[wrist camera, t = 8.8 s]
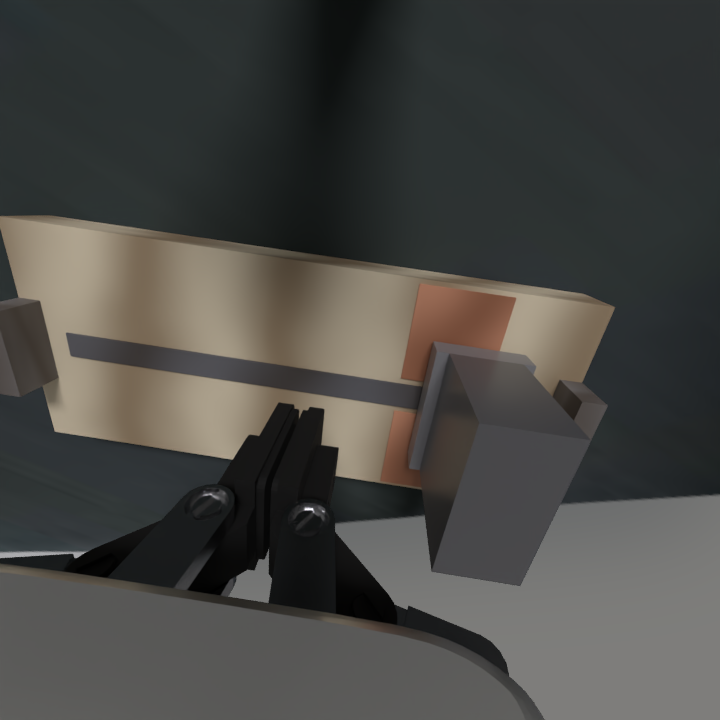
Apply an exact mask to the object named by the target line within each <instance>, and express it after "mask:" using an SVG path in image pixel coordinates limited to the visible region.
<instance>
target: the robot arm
mask: <svg viewBox="0 0 720 720" xmlns="http://www.w3.org/2000/svg"><path fill="white" fill-rule="evenodd" d="M324 412H325V411H324V409H322V408H315V407H309V409H308V410H303V411H302V413H301V416H300V418H299V409H295V407H294V404H288V403H281V402H279V403H278V404H277V406H276V407H275V409H274V411H273V413H272V414H271V416H270V418H269V420H268V421H267V423H266V425H265V427H264V428H263V430H262V432H261V434H260V435H259V436H258V435H251V434H250V435H248V436H247V438H246V439H245V441H244V442H243V444H242V446H241V447H240V449H239V450H238V452H237V454H236V455H235V457H234V458H233V460H232V462H231V463H230V465H229V466H228V468H227V470H226V471H225V473H224V474H223V476H222V478H221V479H220V481H219V482H218V484H210V485H204V486H200V487H197V488H195V489H193V490H192V491H190V492H189V493H187V494H186V495H185V496H184V497H183V498H182V499H181V500H180V501H179V502H178V503H177V504H176V505H175V506H174V507H173V508H172V509H171V511H170V512H169V513H168V514H167V515H166V516H165V517H164V518H163V519H162V520H161V521H158V522H156V523H154V524H151V525H149V526H146V527H144V528H142V529H139V530H137V531H135V532H132V533H130V534H127V535H125V536H123V537H120V538H118V539H116V540H113V541H111V542H108V543H106V544H104V545H101V546H99V547H97V548H94V549H92V550H90V551H88V552H86V553H84V554H83V555H81V556H80V557H78V558H74V555H73V554H61V555H45V556H30V557H14V558H0V720H544V718H543V716H542V715H541V713H540V711H539V710H538V708H537V707H536V705H535V704H534V702H533V701H532V699H531V698H530V697H529V696H528V695H527V693H526V692H525V691H524V690H523V689H522V688H521V687H520V686H519V685H518V684H517V683H516V682H515V681H514V680H513V679H512V678H510V677H509V673H508V669H507V664H506V662H505V660H504V658H503V656H502V654H501V652H500V651H499V650H498V649H497V648H496V647H495V646H494V644H493V643H492V642H491V641H489V640H487V639H486V638H484V637H483V636H481V635H479V634H476V633H474V632H471V631H469V630H466V629H464V628H462V627H459V626H457V625H454V624H452V623H449V622H447V621H445V620H442V619H440V618H437V617H434V616H432V615H430V614H427V613H425V612H422V611H420V610H418V609H415V608H413V607H410V606H408V609H407V610H406V609H404V608H401V607H399V606H397V605H394V602H393V601H392V600H391V598H390V596H389V595H388V593H387V592H386V591H385V590H384V589H383V588H382V587H381V585H380V584H379V583H378V582H377V581H376V580H375V578H374V577H373V576H372V575H371V574H370V572H369V571H368V570H367V569H366V568H365V567H364V565H363V564H362V563H361V562H360V561H359V560H358V558H357V557H356V556H355V555H354V554H353V553H352V552H351V550H350V549H349V548H348V547H347V545H346V544H345V543H344V542H343V541H342V540H341V538H339V536H338V535H337V534H336V533H335V518H334V513H333V511H332V510H331V508H330V502H331V497H332V492H333V487H334V481H335V475H336V468H337V460H338V452H339V447H332V446H325V445H321V443H322V433H323V423H324ZM268 549H269V575H270V576H271V578H272V584H271V591H270V597H269V603H264V602H258V601H251V600H245V599H239V598H232V597H228V596H229V594H230V592H231V591H232V589H233V587H234V585H235V582H236V576H237V575H239V574H241V573H242V572H244V571H246V570H247V569H248V570H255V567H256V565H257V562H258V560H259V559H265V557H266V555H267V552H268Z"/></svg>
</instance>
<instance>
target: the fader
mask: <svg viewBox="0 0 720 720" xmlns="http://www.w3.org/2000/svg"><path fill="white" fill-rule="evenodd" d="M536 367H537V366H536V365H535V364H534V363H533V362H532V361H531V360H530V359H529V358H528V357H527V356H526V355H522V354H515V353H509V352H502V351H495V350H489V349H482V348H475V347H469V346H462V345H455V344H449V343H442V342H436V341H433V345H432V350H431V354H430V358H429V363H428V367H427V371H426V375H425V380H424V384H423V388H422V393H421V397H420V401H419V406H418V410H417V414H416V419H415V423H414V427H413V431H412V436H411V440H410V444H409V449H408V463H409V469H415V470H420V479H421V487H422V495H423V504H424V512H425V520H426V529H427V537H428V545H429V554H430V562H431V570H432V572H437V573H443V574H449V575H456V576H462V577H468V578H474V579H481V580H486V581H493V582H499V583H505V584H511V585H517V586H520V585H521V583H522V581H523V579H524V577H525V575H526V573H527V571H528V569H529V567H530V565H531V563H532V561H533V559H534V557H535V555H536V553H537V551H538V549H539V546H540V544H541V542H542V540H543V538H544V536H545V534H546V532H547V530H548V528H549V526H550V524H551V522H552V520H553V518H554V516H555V514H556V512H557V510H558V508H559V506H560V504H561V501H562V499H563V497H564V495H565V493H566V491H567V489H568V487H569V485H570V483H571V481H572V479H573V477H574V475H575V473H576V471H577V469H578V467H579V465H580V463H581V461H582V459H583V456H584V454H585V452H586V450H587V448H588V446H589V444H590V442H591V440H590V439H589V437H588V436H587V435H586V434H585V433H584V432H583V431H582V429H581V428H580V427H579V426H578V425H577V424H576V423H575V422H574V420H573V419H572V418H571V417H570V416H569V415H568V414H567V413H566V411H565V410H564V409H563V408H562V407H561V406H560V405H559V403H558V402H557V401H556V400H555V399H554V398H553V397H552V396H551V394H550V393H549V392H548V391H547V390H546V389H545V388H544V387H543V385H542V384H541V383H540V382H539V381H538V380H537V379H536V378H535V376H534V372H535V369H536Z"/></svg>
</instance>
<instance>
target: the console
mask: <svg viewBox="0 0 720 720" xmlns="http://www.w3.org/2000/svg"><path fill="white" fill-rule="evenodd" d="M0 229H1V232H2V236H3V240H4V244H5V247H6V251H7V255H8V258H9V262H10V266H11V270H12V273H13V277H14V281H15V285H16V288H17V292H18V296H19V298H15V299H10V300H6V301H2V302H0V394H5V395H11V396H18V397H21V396H23V395H25V394H27V393H29V392H31V391H33V390H35V389H37V388H39V387H41V386H43V389H44V393H45V396H46V400H47V404H48V408H49V411H50V415H51V419H52V422H53V426H54V430H55V432H61V433H68V434H74V435H80V436H87V437H93V438H99V439H106V440H112V441H118V442H125V443H131V444H137V445H144V446H150V447H156V448H163V449H169V450H175V451H182V452H188V453H194V454H201V455H207V456H213V457H219V458H226V459H232V460H233V458H234V457H235V455H236V454H237V452H238V450H239V449H240V447H241V446H242V444H243V442H244V441H245V439H246V438H247V436H248V435H250V434H251V435H258V436H259V435H260V434H261V432H262V430H263V428H264V427H265V425H266V423H267V421H268V420H269V418H270V416H271V414H272V413H273V411H274V409H275V407H276V406H277V404H278V403H279V402H281V403H288V404H294V407H295V409H299V418H300V416H301V413H302V411H303V410H308V409H309V407H315V408H322V409H324V411H325V412H324V423H323V433H322V443H321V445H325V446H332V447H339V452H338V460H337V468H336V475H335V476H340V477H346V478H352V479H358V480H365V481H371V482H377V483H384V484H390V485H396V486H403V487H409V488H415V489H422V487H421V479H420V470H415V469H409V463H408V449H409V444H410V440H411V436H412V431H413V427H414V423H415V419H416V414H417V410H418V406H419V401H420V397H421V393H422V388H423V384H424V380H425V375H426V371H427V367H428V363H429V358H430V354H431V350H432V345H433V341H436V342H442V343H449V344H455V345H462V346H469V347H475V348H482V349H489V350H495V351H502V352H509V353H515V354H522V355H526V356H527V357H528V358H529V359H530V360H531V361H532V362H533V363H534V364H535V365H536V366H537V367H536V369H535V372H534V376H535V378H536V379H537V380H538V381H539V382H540V383H541V384H542V385H543V387H544V388H545V389H546V390H547V391H548V392H549V393H550V394H551V396H552V397H553V398H554V399H555V400H556V401H557V402H558V403H559V405H560V406H561V407H562V408H563V409H564V410H565V411H566V413H567V414H568V415H569V416H570V417H571V418H572V419H573V420H574V422H575V423H576V424H577V425H578V426H579V427H580V428H581V429H582V431H583V432H584V433H585V434H586V435H587V436H588V437H589V439H590V440H591V439H592V437H593V435H594V433H595V431H596V429H597V427H598V425H599V423H600V421H601V419H602V417H603V414H604V412H605V410H606V408H607V406H608V405H606V404H605V403H604V402H603V401H602V400H601V399H600V398H599V397H597V396H596V395H595V394H594V393H593V392H592V391H591V390H589V389H588V388H587V387H586V386H585V385H584V384H583V383H582V381H583V379H584V377H585V375H586V372H587V370H588V368H589V366H590V363H591V361H592V359H593V356H594V354H595V352H596V350H597V347H598V345H599V343H600V340H601V338H602V336H603V334H604V331H605V329H606V327H607V325H608V322H609V320H610V318H611V315H612V313H613V311H614V309H615V307H613V306H611V305H609V304H606V303H604V302H601V301H599V300H597V299H594V298H592V297H590V296H587V295H585V294H581V293H574V292H567V291H560V290H553V289H547V288H540V287H533V286H526V285H519V284H513V283H506V282H499V281H492V280H485V279H479V278H472V277H465V276H458V275H451V274H445V273H438V272H431V271H424V270H417V269H411V268H404V267H397V266H390V265H383V264H377V263H370V262H363V261H356V260H349V259H343V258H336V257H329V256H322V255H315V254H309V253H302V252H295V251H288V250H281V249H275V248H268V247H261V246H254V245H247V244H241V243H234V242H227V241H220V240H213V239H207V238H200V237H193V236H186V235H179V234H173V233H166V232H159V231H152V230H145V229H138V228H132V227H125V226H118V225H111V224H104V223H98V222H91V221H84V220H77V219H70V218H64V217H57V216H0Z"/></svg>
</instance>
